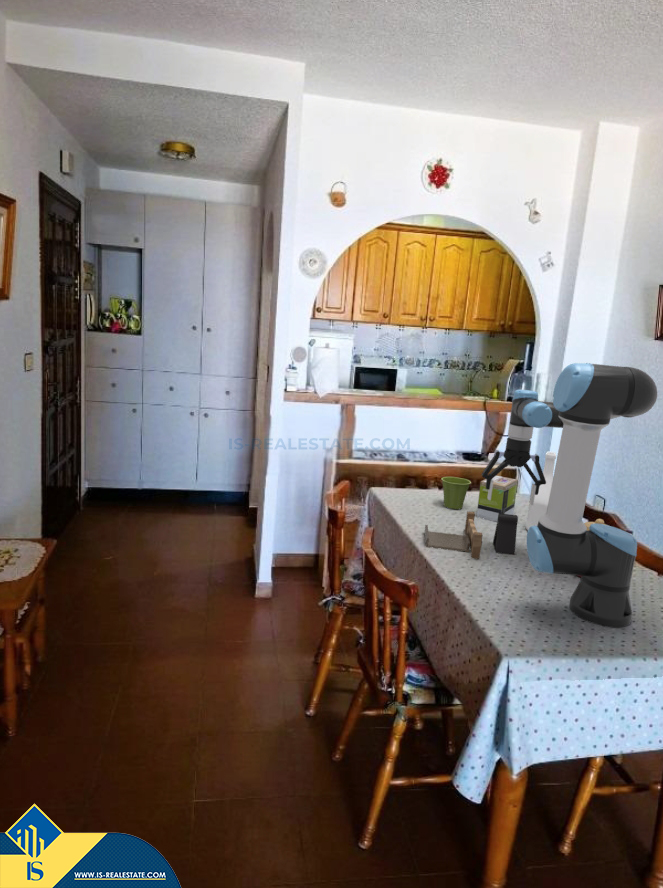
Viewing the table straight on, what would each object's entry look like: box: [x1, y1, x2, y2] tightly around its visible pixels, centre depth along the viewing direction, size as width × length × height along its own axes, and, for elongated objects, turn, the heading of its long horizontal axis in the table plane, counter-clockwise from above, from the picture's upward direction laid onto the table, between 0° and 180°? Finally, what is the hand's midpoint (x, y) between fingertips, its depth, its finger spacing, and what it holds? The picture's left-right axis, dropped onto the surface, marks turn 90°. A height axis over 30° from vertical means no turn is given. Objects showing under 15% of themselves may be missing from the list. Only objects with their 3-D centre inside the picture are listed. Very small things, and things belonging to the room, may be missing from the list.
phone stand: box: [492, 513, 519, 556], centre depth 203 cm, size 9×6×12 cm, turn 172°
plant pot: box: [441, 476, 472, 510], centre depth 248 cm, size 12×12×11 cm
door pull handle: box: [464, 511, 483, 560], centre depth 205 cm, size 25×2×8 cm, turn 173°
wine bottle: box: [525, 450, 557, 531], centre depth 223 cm, size 10×10×30 cm
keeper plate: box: [424, 524, 470, 553], centre depth 206 cm, size 14×14×3 cm
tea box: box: [476, 475, 519, 523], centre depth 240 cm, size 15×10×15 cm, turn 144°
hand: (510, 501), depth 202 cm, fingers open, 13 cm apart
